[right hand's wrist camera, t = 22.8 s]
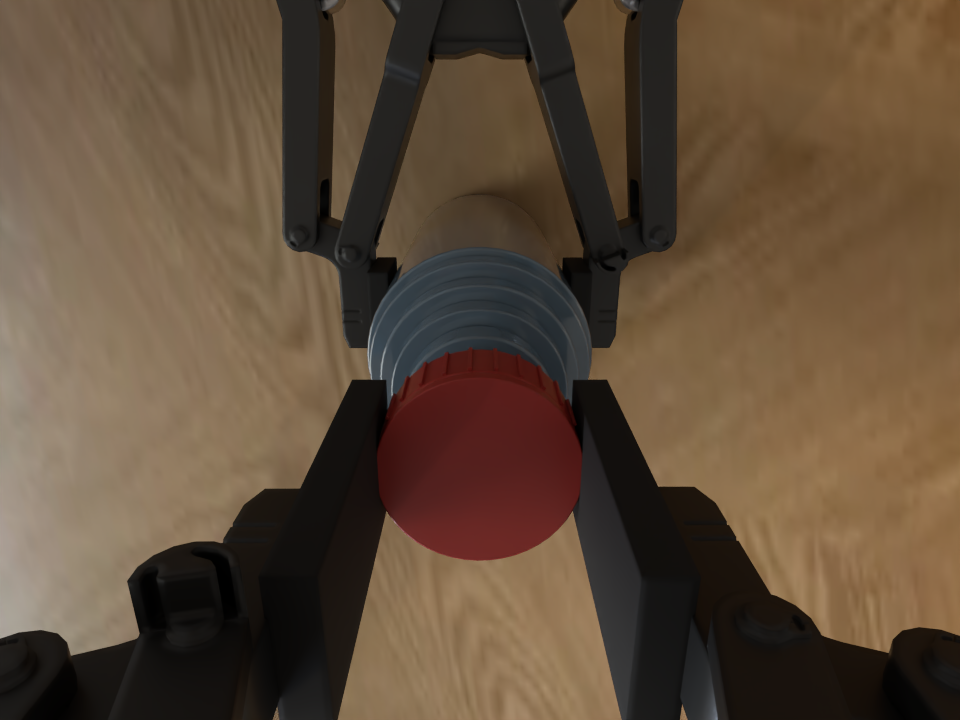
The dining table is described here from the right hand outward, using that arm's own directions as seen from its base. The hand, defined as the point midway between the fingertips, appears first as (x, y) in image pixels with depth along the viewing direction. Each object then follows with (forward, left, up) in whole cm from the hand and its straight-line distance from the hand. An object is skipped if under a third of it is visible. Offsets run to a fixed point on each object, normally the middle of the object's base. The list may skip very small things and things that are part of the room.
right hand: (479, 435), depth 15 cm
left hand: (+1, -5, -11) cm, 12 cm away
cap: (0, 0, +1) cm, 1 cm away
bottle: (0, 0, -18) cm, 18 cm away
